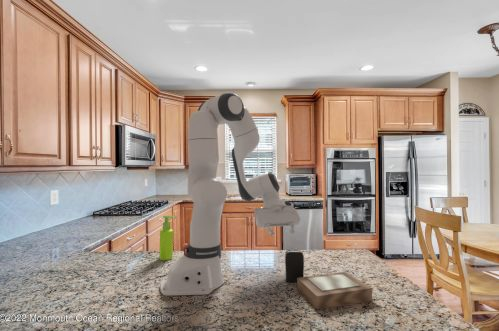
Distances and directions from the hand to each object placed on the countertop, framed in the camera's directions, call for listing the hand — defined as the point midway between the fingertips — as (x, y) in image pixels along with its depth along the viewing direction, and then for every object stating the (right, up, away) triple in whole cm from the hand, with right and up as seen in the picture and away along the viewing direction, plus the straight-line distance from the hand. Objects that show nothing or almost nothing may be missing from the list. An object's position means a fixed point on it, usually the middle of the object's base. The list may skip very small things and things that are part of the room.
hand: (282, 233), depth 102 cm
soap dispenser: (-53, -15, +12) cm, 57 cm away
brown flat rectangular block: (+14, -14, -22) cm, 30 cm away
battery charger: (+3, -15, -11) cm, 19 cm away
